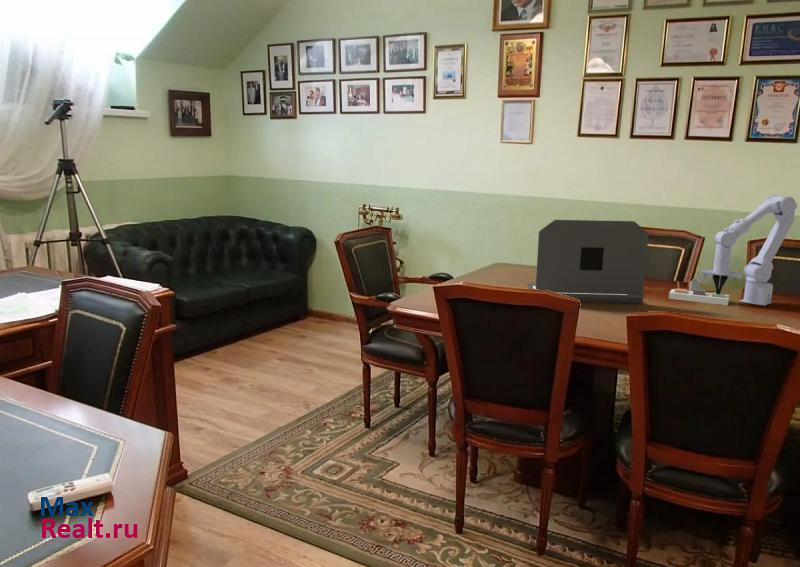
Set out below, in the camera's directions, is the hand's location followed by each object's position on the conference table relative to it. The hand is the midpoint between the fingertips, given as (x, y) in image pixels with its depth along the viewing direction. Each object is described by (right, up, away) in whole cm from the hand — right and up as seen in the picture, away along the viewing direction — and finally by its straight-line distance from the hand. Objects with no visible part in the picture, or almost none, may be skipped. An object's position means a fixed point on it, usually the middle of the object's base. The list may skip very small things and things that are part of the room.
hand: (718, 293), depth 252 cm
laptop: (-53, -1, +12) cm, 55 cm away
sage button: (0, -3, +1) cm, 3 cm away
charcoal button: (-6, -1, +4) cm, 7 cm away
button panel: (-6, -3, +4) cm, 8 cm away
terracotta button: (-12, -1, +7) cm, 14 cm away
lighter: (+2, +1, +22) cm, 22 cm away
